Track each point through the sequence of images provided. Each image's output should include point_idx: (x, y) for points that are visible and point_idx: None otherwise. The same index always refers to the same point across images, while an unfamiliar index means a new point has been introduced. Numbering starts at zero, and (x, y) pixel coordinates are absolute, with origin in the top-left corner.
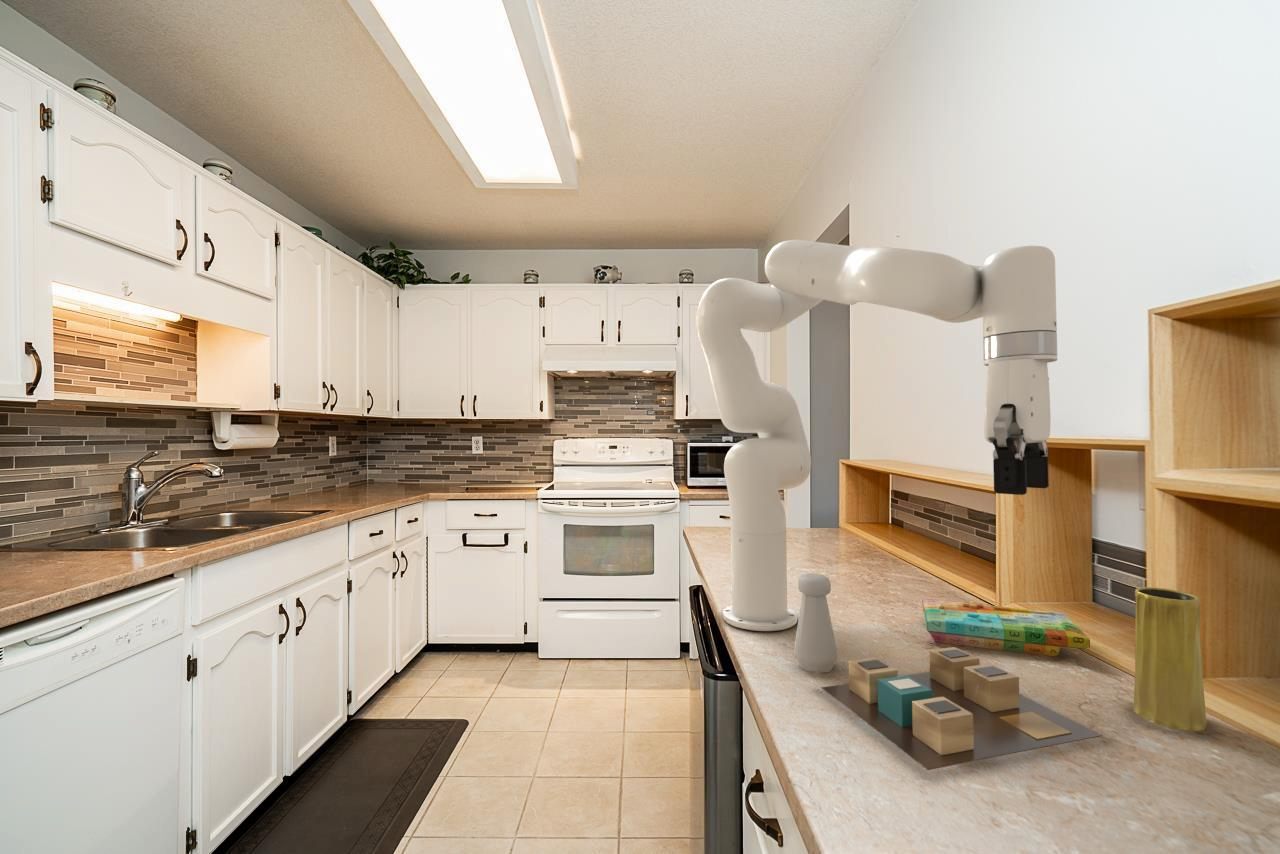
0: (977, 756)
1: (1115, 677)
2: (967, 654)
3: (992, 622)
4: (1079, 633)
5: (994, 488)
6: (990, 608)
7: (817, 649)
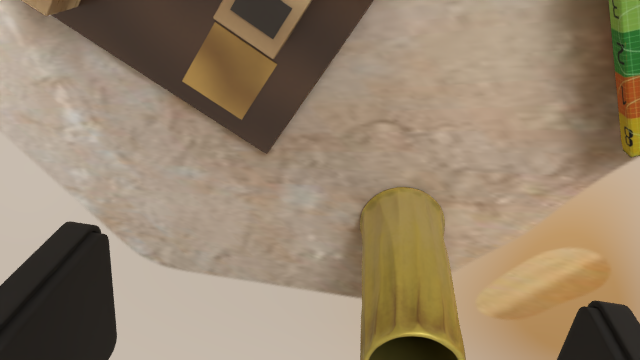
0: (62, 15)
1: (568, 169)
2: None
3: None
4: None
5: (60, 231)
6: None
7: None
